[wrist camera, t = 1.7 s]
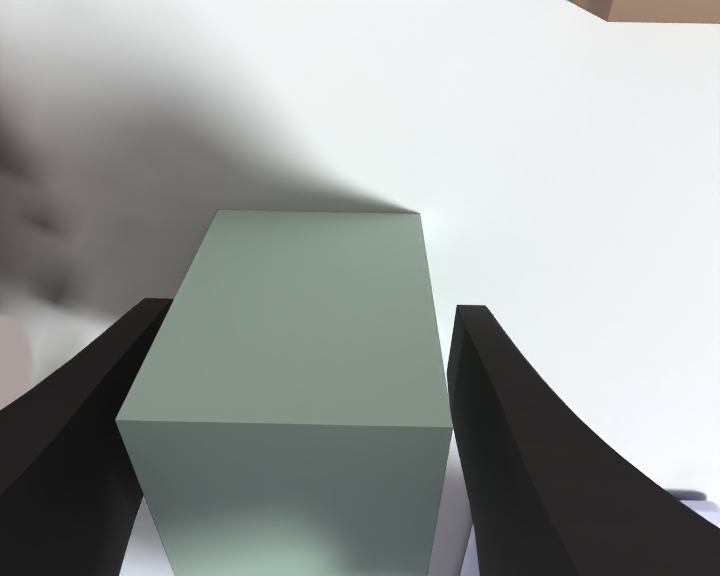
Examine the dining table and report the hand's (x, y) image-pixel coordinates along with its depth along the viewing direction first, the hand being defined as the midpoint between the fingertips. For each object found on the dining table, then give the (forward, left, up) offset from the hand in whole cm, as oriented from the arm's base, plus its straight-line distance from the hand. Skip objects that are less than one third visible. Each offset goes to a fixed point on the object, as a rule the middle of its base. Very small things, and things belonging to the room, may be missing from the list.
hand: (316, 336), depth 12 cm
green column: (0, 0, -2) cm, 2 cm away
